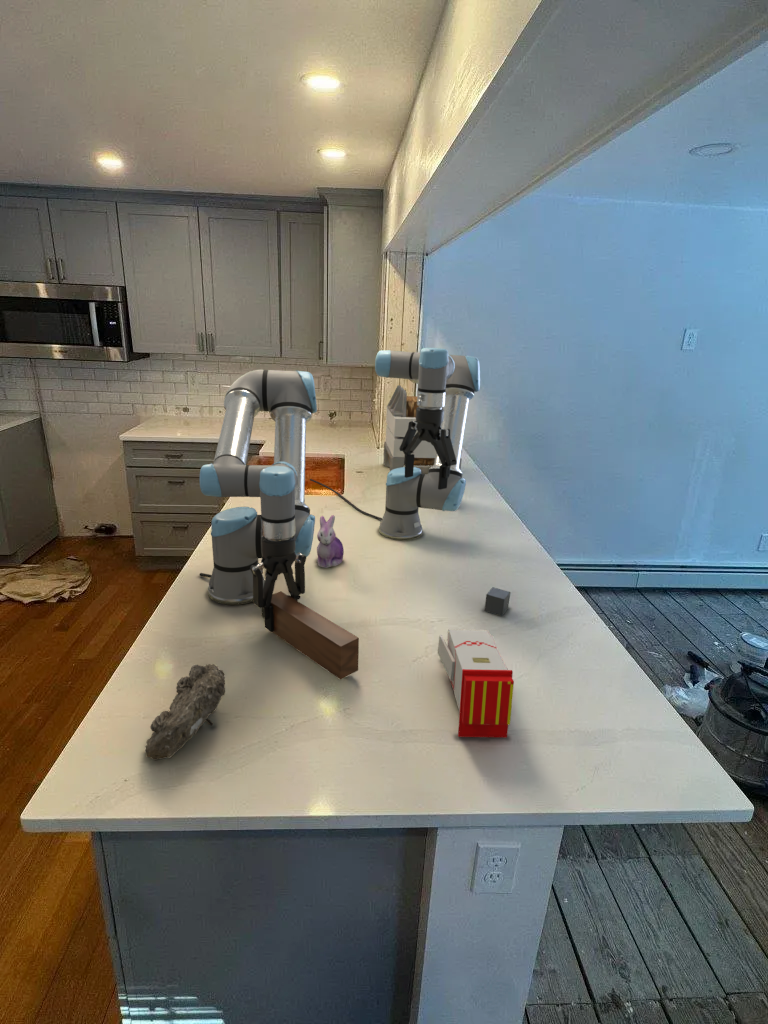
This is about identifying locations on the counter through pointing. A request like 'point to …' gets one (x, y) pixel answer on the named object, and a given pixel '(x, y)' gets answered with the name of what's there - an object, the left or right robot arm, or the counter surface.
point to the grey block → (497, 601)
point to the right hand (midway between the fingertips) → (425, 482)
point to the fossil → (186, 710)
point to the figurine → (328, 544)
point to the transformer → (404, 432)
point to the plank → (315, 636)
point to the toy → (478, 682)
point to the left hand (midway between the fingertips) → (280, 625)
